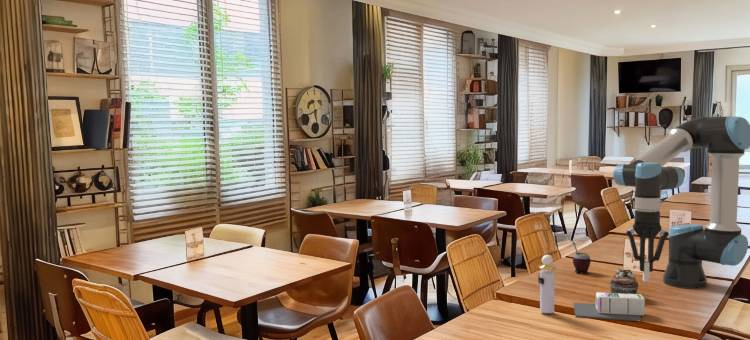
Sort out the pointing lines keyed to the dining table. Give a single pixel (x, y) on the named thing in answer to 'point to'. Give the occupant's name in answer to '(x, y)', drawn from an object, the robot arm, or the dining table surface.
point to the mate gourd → (581, 261)
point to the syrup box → (620, 303)
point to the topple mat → (591, 312)
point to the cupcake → (624, 282)
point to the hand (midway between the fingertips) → (645, 280)
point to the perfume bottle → (546, 285)
